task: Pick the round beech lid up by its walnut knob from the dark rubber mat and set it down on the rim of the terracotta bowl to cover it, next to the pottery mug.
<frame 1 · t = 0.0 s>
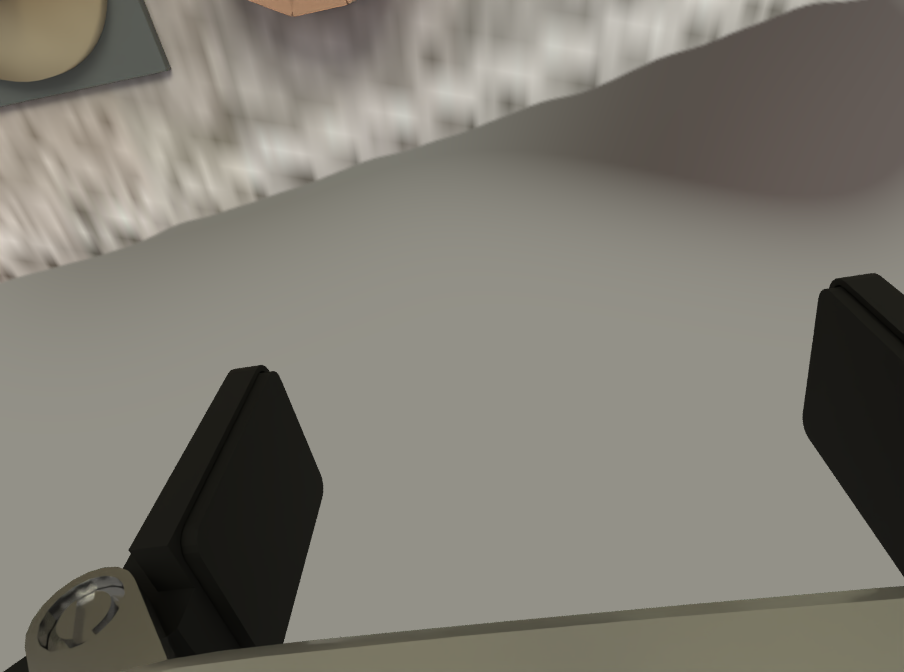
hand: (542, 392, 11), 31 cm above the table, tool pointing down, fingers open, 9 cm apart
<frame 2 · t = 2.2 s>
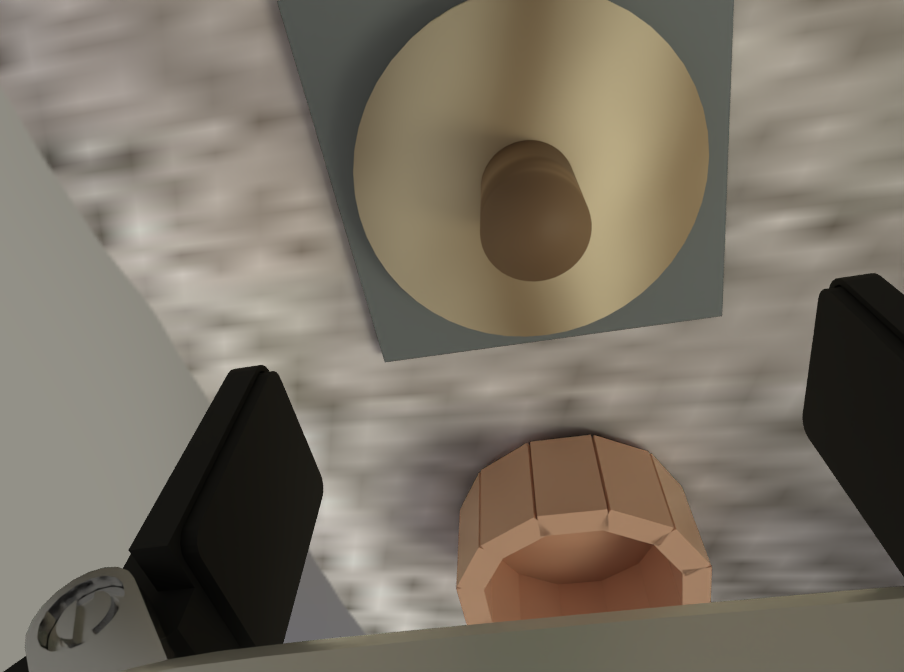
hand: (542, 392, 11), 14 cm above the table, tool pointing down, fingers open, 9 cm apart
mat: (524, 171, 23), on the table
lid: (525, 176, 22), point 1 cm above the table, touching mat
bowl: (570, 512, 32), on the table
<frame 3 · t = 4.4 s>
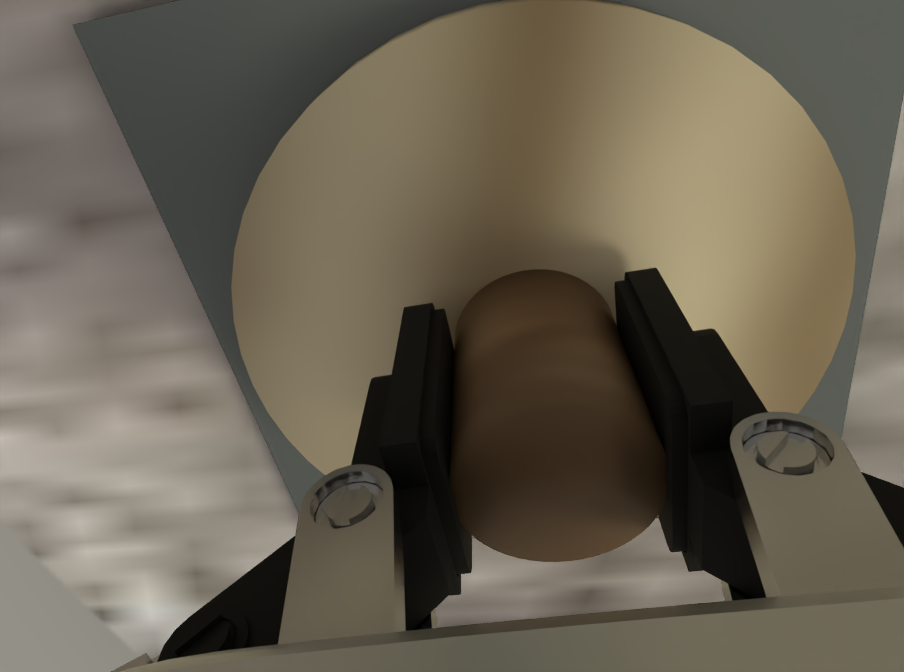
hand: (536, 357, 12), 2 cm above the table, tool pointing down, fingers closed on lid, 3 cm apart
mat: (527, 297, 14), on the table
lid: (529, 311, 13), point 1 cm above the table, touching gripper, mat
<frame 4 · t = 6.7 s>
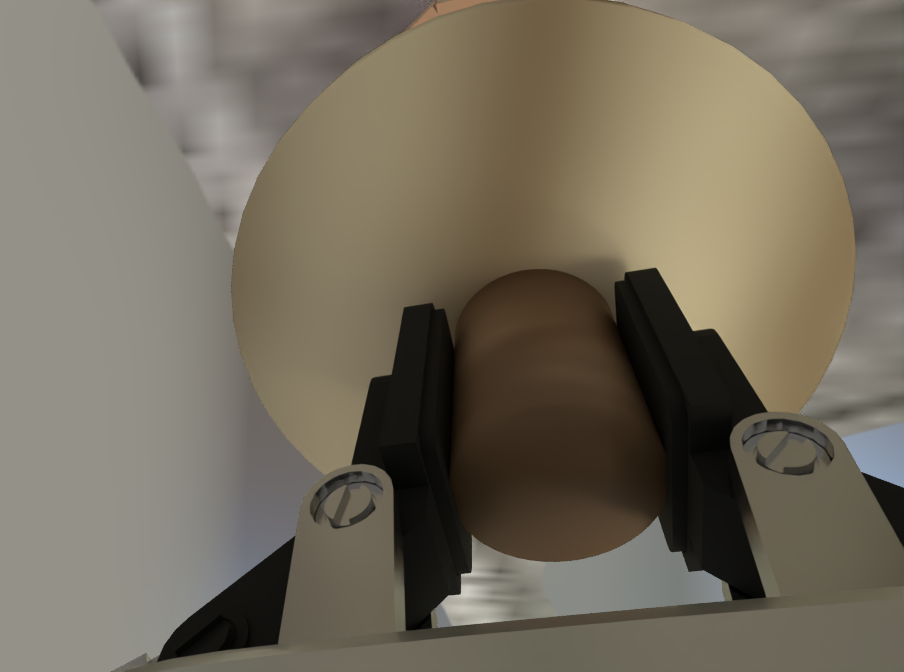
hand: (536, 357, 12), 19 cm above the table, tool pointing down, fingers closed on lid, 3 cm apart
lid: (529, 311, 13), point 17 cm above the table, touching gripper
bowl: (496, 123, 28), on the table
when the fingers open (8 cm above the table, at t = 9.4 s): lid stays where it is, resting on bowl.
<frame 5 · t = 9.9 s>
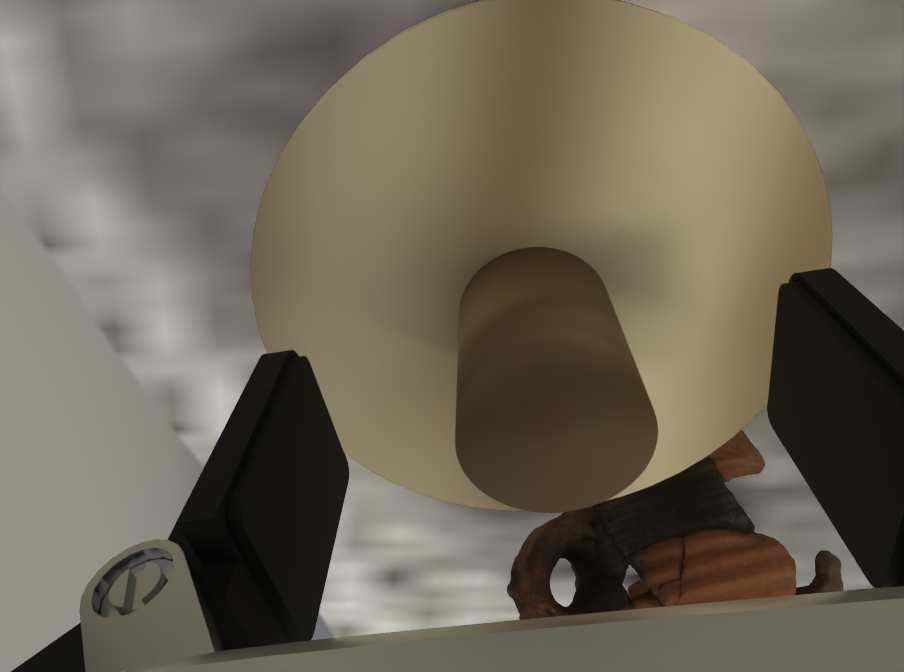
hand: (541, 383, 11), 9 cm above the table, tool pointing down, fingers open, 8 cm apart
lid: (529, 289, 14), point 5 cm above the table, touching bowl
pottery mug: (648, 501, 25), on the table
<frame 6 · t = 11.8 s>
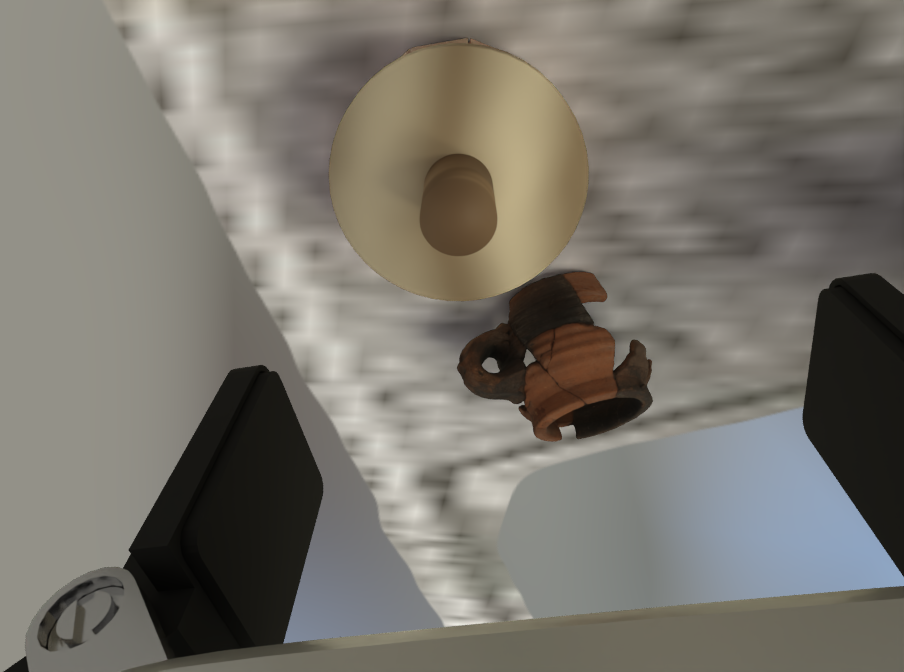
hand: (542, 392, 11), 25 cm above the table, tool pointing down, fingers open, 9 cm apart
lid: (458, 179, 30), point 5 cm above the table, touching bowl
pottery mug: (548, 334, 41), on the table
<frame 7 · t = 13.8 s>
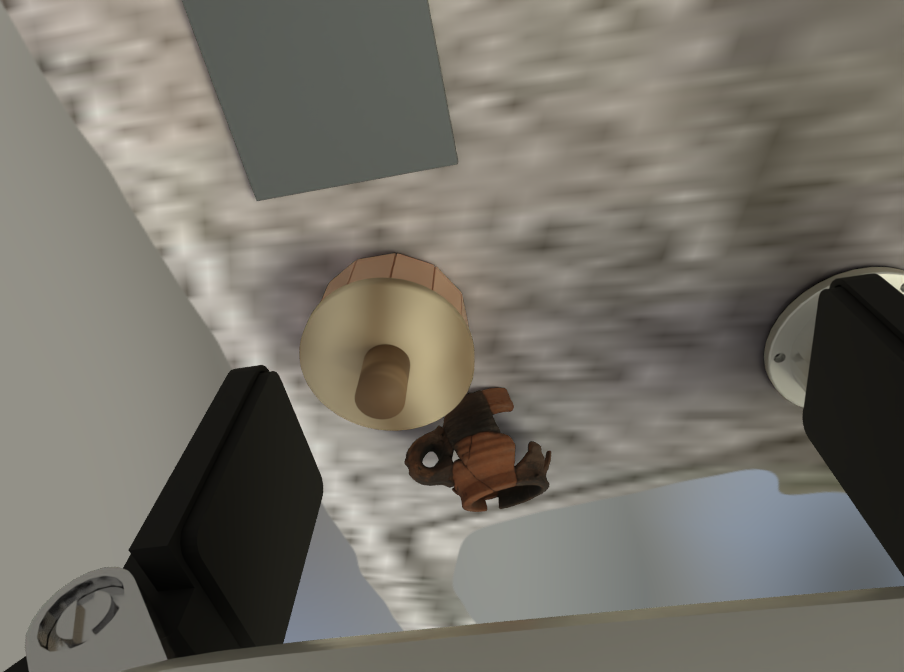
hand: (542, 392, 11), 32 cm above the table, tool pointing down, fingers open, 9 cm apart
mat: (326, 71, 38), on the table
lid: (388, 354, 44), point 5 cm above the table, touching bowl
pottery mug: (478, 429, 54), on the table
bowl: (395, 317, 48), on the table
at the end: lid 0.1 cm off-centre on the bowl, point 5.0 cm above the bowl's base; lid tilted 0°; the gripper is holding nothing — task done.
